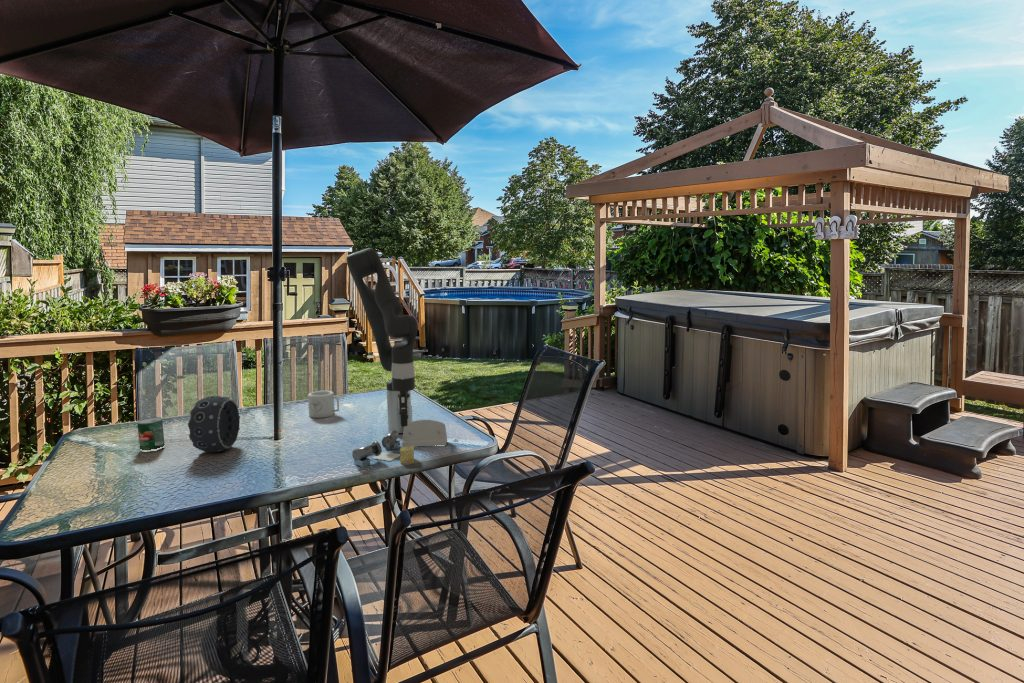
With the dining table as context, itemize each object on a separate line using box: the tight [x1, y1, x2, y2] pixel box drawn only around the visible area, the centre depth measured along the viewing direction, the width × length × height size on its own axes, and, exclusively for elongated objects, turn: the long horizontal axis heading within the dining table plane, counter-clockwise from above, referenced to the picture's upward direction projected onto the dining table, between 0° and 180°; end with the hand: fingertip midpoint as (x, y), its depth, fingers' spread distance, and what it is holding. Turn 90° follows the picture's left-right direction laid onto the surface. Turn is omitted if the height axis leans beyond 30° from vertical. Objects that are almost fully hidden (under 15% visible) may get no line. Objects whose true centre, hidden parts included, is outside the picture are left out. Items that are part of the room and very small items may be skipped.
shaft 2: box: [381, 430, 401, 450], centre depth 213 cm, size 9×5×6 cm, turn 179°
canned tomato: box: [136, 416, 166, 450], centre depth 216 cm, size 8×8×11 cm
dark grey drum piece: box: [187, 395, 241, 453], centre depth 213 cm, size 11×20×20 cm, turn 2°
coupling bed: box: [371, 451, 400, 462], centre depth 206 cm, size 7×8×1 cm
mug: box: [307, 390, 340, 419], centre depth 259 cm, size 14×11×10 cm
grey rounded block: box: [401, 419, 448, 448], centre depth 219 cm, size 17×5×10 cm, turn 93°
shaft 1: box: [351, 441, 383, 468], centre depth 199 cm, size 9×5×6 cm, turn 138°
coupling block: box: [399, 446, 415, 465], centre depth 201 cm, size 4×4×4 cm
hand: (404, 422), depth 199 cm, fingers open, 8 cm apart
